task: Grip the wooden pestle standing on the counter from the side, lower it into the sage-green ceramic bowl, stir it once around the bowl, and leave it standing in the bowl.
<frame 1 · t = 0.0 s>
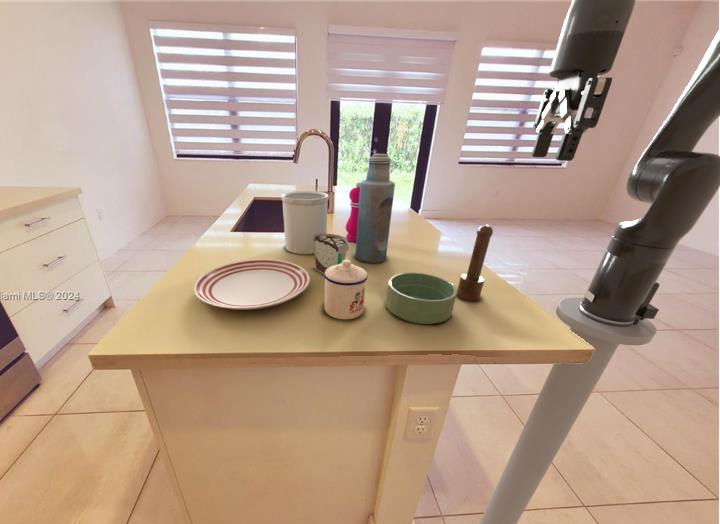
hand: (550, 158, 52), 32 cm above the table, tool pointing down, fingers open, 8 cm apart
wooden pestle: (467, 296, 77), on the table
utensil holder: (305, 248, 106), on the table
slice of cake: (333, 273, 88), on the table
bottle: (370, 258, 99), on the table
teacup with lid: (345, 307, 71), on the table
bowl: (417, 309, 71), on the table
pepper mill: (354, 239, 116), on the table
dinner plate: (254, 291, 77), on the table
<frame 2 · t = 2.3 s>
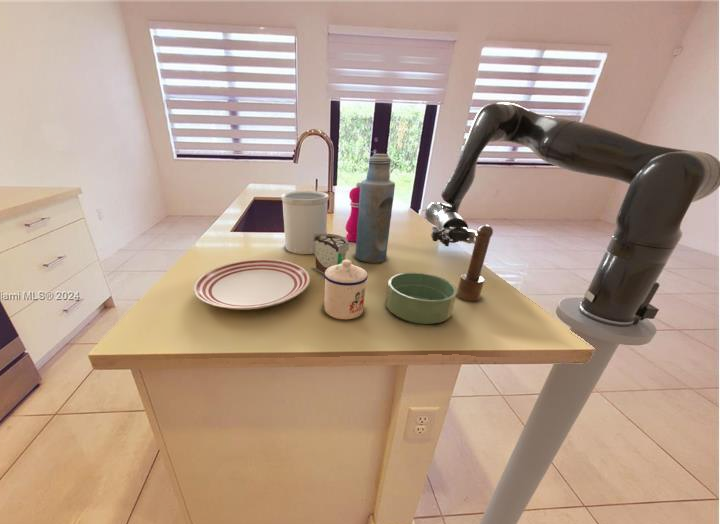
hand: (464, 243, 82), 10 cm above the table, tool horizontal, fingers open, 8 cm apart
nothing on the table moved.
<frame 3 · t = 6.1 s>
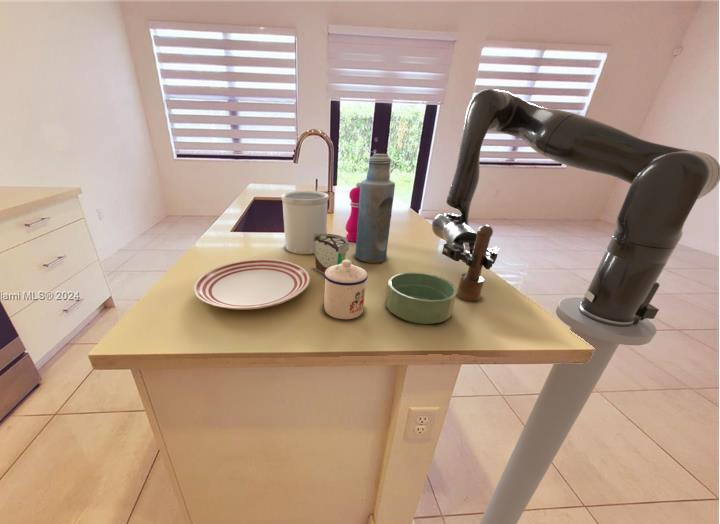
hand: (481, 264, 70), 10 cm above the table, tool horizontal, fingers closed on wooden pestle, 3 cm apart
wooden pestle: (467, 296, 77), on the table, touching gripper
everything else where it was.
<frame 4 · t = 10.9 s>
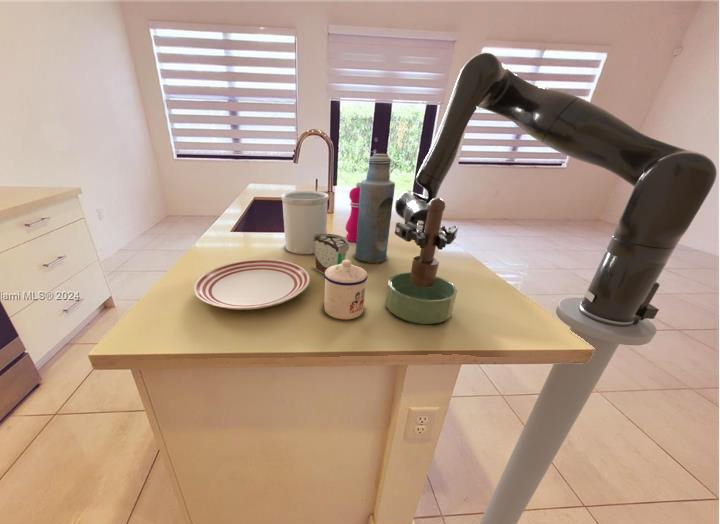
hand: (432, 244, 61), 16 cm above the table, tool horizontal, fingers closed on wooden pestle, 3 cm apart
wooden pestle: (421, 281, 68), point 7 cm above the table, touching gripper
everything else where it was.
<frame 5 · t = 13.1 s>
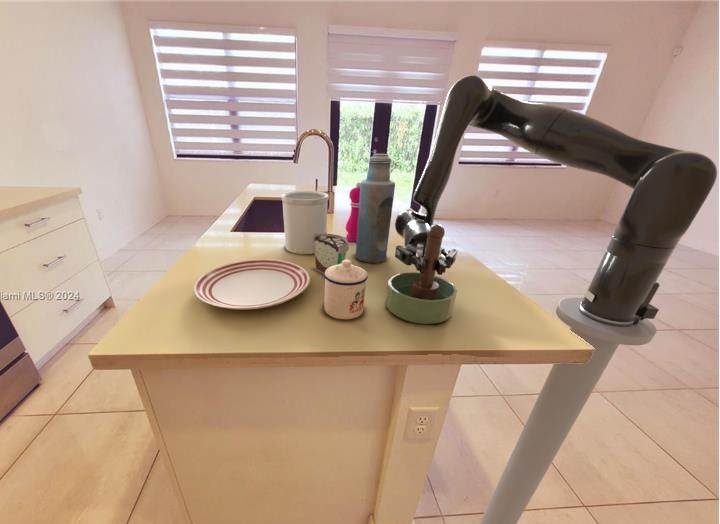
hand: (432, 269, 61), 12 cm above the table, tool horizontal, fingers closed on wooden pestle, 3 cm apart
wooden pestle: (421, 304, 68), point 2 cm above the table, touching gripper
everything else where it was.
when the fingers open (10 cm above the table, at t = 15.7 s): wooden pestle stays where it is, resting on bowl.
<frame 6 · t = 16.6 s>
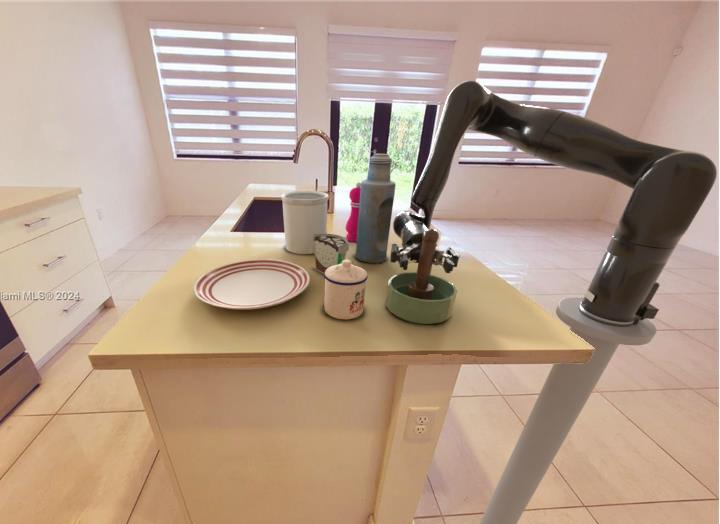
hand: (427, 267, 64), 11 cm above the table, tool horizontal, fingers open, 8 cm apart
wooden pestle: (417, 306, 70), point 1 cm above the table, touching bowl
everything else where it was.
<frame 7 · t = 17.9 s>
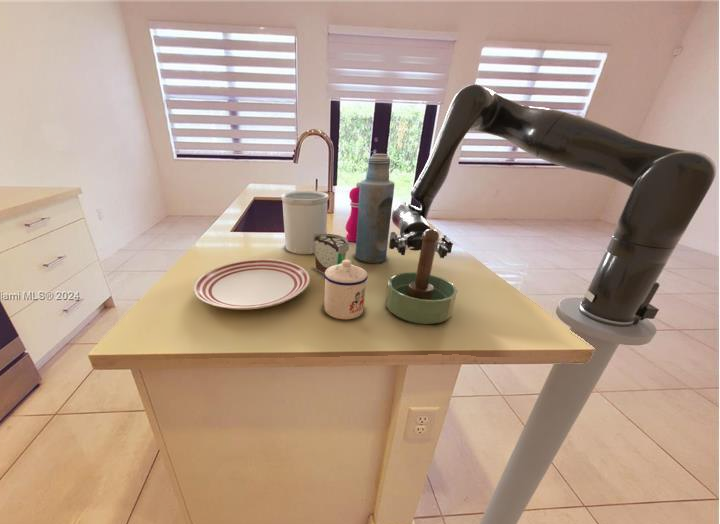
hand: (423, 252, 69), 12 cm above the table, tool horizontal, fingers open, 8 cm apart
nothing on the table moved.
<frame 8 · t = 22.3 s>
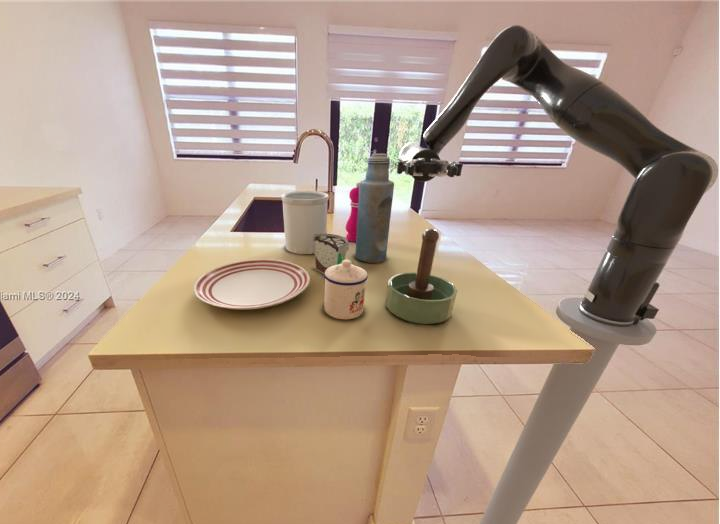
hand: (432, 171, 67), 28 cm above the table, tool horizontal, fingers open, 8 cm apart
nothing on the table moved.
at the end: wooden pestle inside the target area in the bowl (0.1 cm from its centre), point 0.8 cm above the bowl's base; wooden pestle tilted 0°; the gripper is holding nothing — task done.
